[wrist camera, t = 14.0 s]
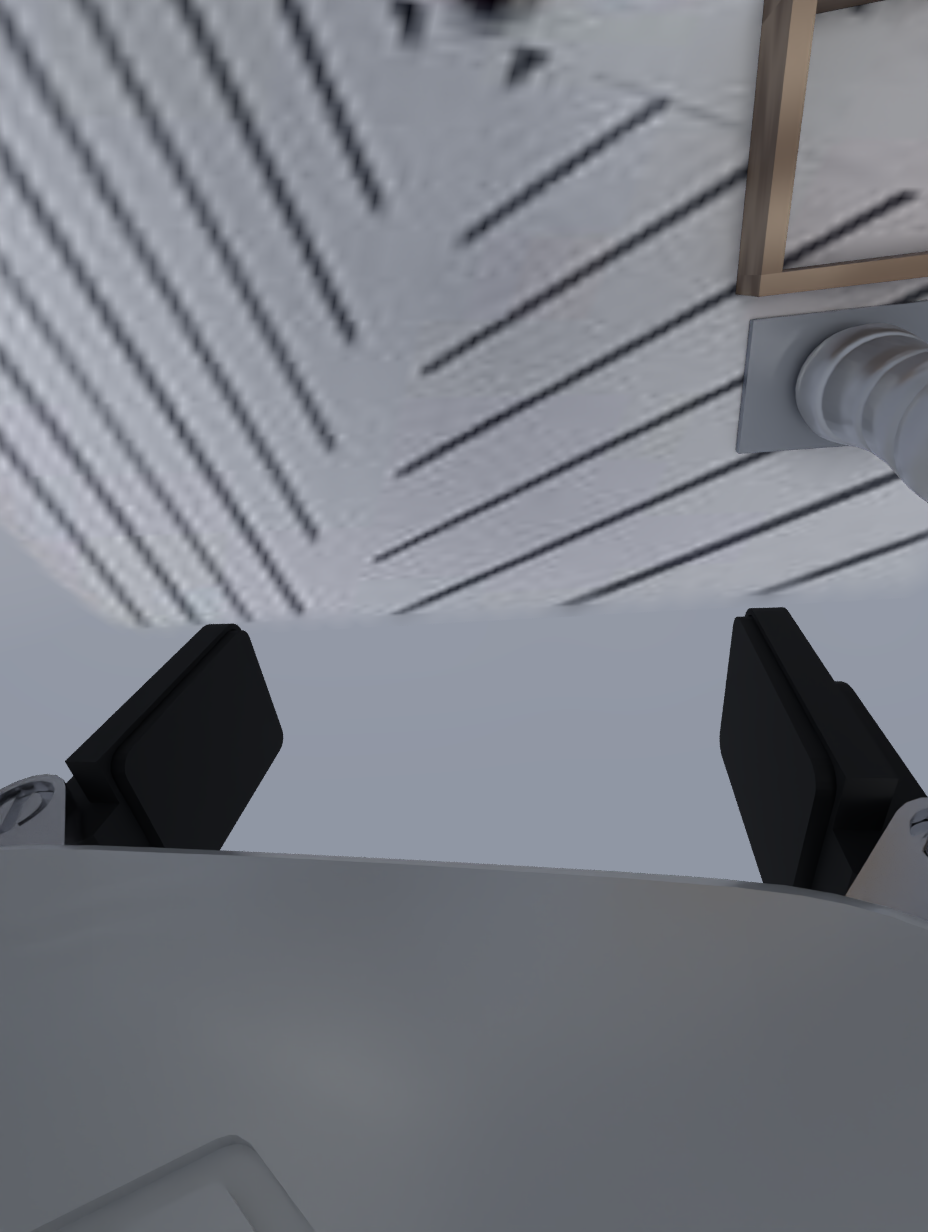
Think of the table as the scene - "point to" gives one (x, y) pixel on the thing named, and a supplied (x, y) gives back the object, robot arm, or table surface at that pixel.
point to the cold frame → (792, 165)
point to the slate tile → (779, 361)
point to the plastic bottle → (871, 396)
